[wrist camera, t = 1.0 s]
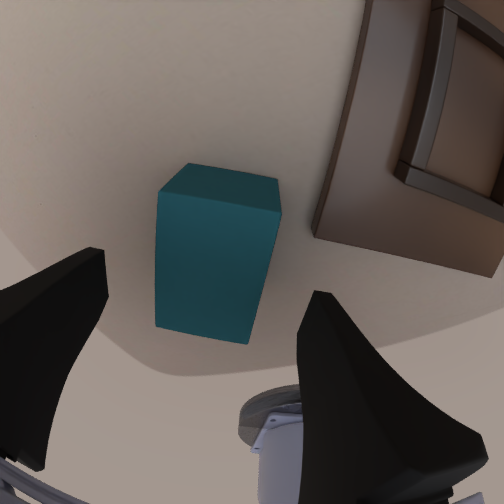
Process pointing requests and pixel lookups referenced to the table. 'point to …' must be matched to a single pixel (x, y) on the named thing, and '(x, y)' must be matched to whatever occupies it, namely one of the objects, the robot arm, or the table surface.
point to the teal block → (213, 250)
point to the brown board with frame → (422, 137)
